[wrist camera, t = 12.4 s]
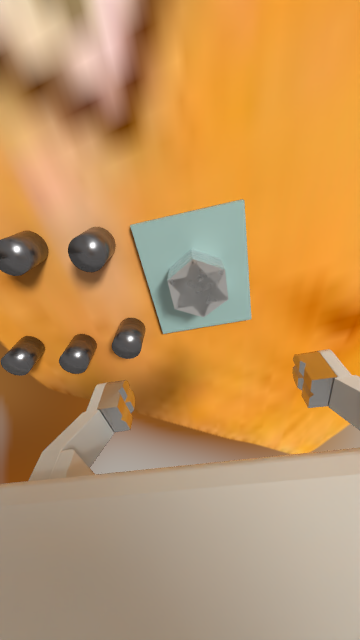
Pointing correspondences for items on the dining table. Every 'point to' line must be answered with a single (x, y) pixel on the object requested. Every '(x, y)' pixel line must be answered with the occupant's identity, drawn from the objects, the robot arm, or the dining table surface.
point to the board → (205, 236)
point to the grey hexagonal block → (197, 283)
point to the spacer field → (88, 256)
